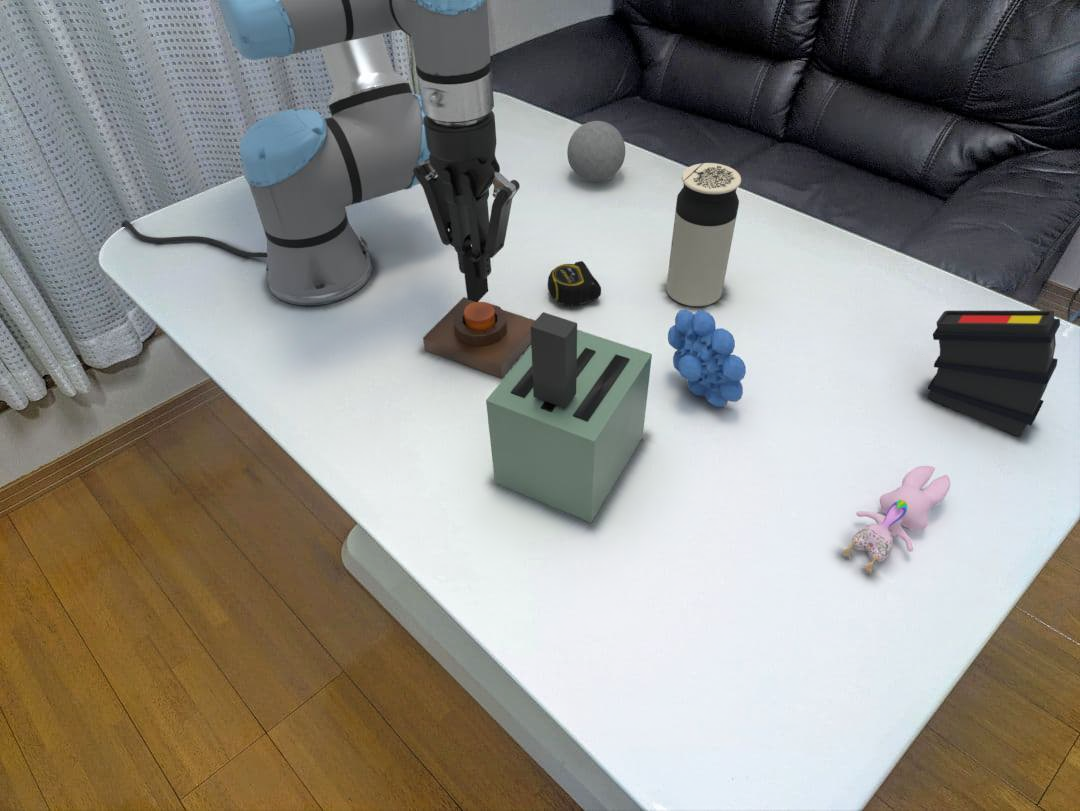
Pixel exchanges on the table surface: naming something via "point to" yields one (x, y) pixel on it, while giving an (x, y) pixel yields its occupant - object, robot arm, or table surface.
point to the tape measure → (573, 284)
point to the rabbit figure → (900, 514)
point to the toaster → (571, 427)
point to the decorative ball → (596, 151)
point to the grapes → (706, 357)
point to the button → (479, 315)
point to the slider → (554, 359)
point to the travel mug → (702, 233)
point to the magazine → (995, 365)
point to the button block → (480, 340)
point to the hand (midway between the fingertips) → (477, 295)
